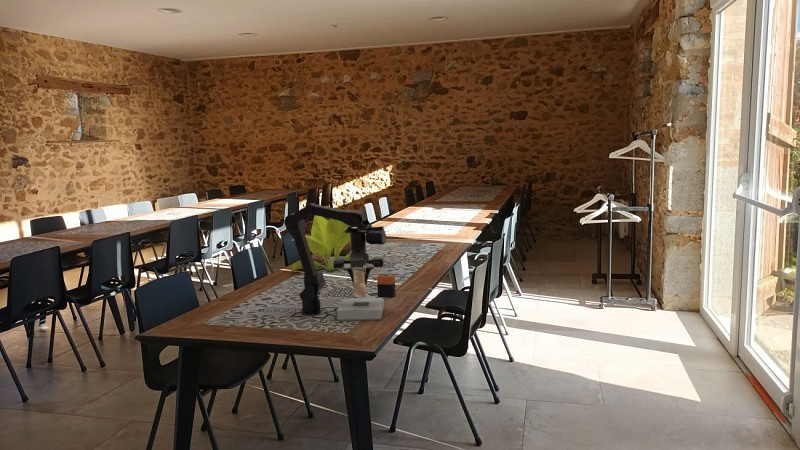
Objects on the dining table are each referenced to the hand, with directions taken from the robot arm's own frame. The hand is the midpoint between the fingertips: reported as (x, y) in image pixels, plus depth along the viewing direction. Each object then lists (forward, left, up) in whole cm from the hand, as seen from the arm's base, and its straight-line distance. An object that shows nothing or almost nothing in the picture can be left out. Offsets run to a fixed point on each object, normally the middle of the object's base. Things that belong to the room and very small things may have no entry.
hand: (359, 284), depth 235 cm
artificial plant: (-25, +84, -12) cm, 89 cm away
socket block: (0, 0, -12) cm, 12 cm away
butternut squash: (-24, +120, -12) cm, 123 cm away
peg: (0, 0, -4) cm, 4 cm away
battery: (+8, +26, -12) cm, 30 cm away
